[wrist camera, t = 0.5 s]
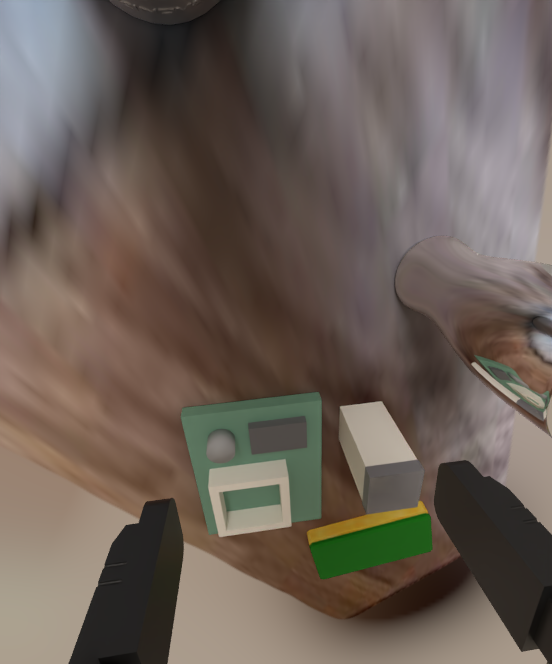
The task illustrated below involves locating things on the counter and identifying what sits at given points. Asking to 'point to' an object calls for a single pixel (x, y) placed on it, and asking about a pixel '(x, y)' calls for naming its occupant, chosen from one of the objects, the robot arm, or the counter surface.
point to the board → (257, 461)
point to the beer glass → (488, 317)
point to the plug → (379, 458)
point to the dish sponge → (370, 540)
